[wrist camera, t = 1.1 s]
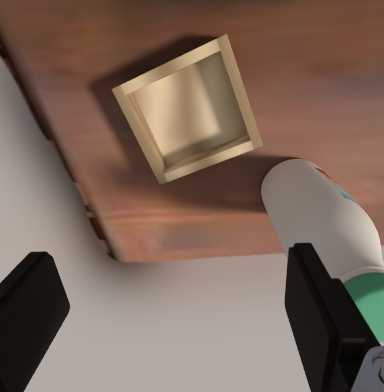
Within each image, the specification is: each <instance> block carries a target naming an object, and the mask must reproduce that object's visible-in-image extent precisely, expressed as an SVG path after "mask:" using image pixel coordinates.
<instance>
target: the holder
mask: <svg viewBox="0 0 384 392" xmlns="http://www.w3.org/2000/svg"><path fill="white" fill-rule="evenodd" d="M112 91H113V93H114V95H115V97H116V99H117V101H118V103H119V105H120V107H121V109H122V111H123V113H124V115H125V117H126V119H127V121H128V123H129V125H130V127H131V129H132V131H133V133H134V135H135V137H136V139H137V141H138V143H139V145H140V147H141V149H142V151H143V152H144V154H145V156H146V158H147V160H148V162H149V164H150V166H151V168H152V170H153V172H154V174H155V176H156V178H157V180H158V182H159V184H160V185H161V184H164V183H167V182H169V181H172V180H174V179H177V178H180V177H182V176H185V175H188V174H190V173H193V172H195V171H198V170H201V169H203V168H206V167H209V166H211V165H214V164H216V163H219V162H222V161H224V160H227V159H230V158H232V157H235V156H237V155H240V154H243V153H245V152H248V151H251V150H253V149H256V148H258V147H261V146H263V144H262V141H261V138H260V135H259V132H258V129H257V126H256V122H255V119H254V116H253V113H252V110H251V107H250V104H249V101H248V98H247V95H246V92H245V89H244V85H243V82H242V79H241V76H240V73H239V70H238V67H237V64H236V61H235V58H234V55H233V52H232V49H231V45H230V42H229V39H228V36H227V34H225V35H223V36H221V37H219V38H217V39H215V40H213V41H211V42H209V43H207V44H205V45H203V46H200V47H198V48H196V49H194V50H192V51H190V52H188V53H186V54H184V55H182V56H180V57H178V58H176V59H174V60H171V61H169V62H167V63H165V64H163V65H161V66H159V67H157V68H155V69H153V70H151V71H149V72H147V73H144V74H142V75H140V76H138V77H136V78H134V79H132V80H130V81H128V82H126V83H124V84H122V85H120V86H118V87H115V88H113V89H112Z"/></svg>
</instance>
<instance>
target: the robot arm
mask: <svg viewBox="0 0 384 392" xmlns="http://www.w3.org/2000/svg"><path fill="white" fill-rule="evenodd" d="M285 309H286V312H287V316H288V319H289V322H290V325H291V328H292V331H293V335H294V338H295V342H296V345H297V348H298V351H299V355H300V358H301V361H302V364H303V367H304V371H305V374H306V377H307V380H308V384H309V387H310V390H311V392H384V346H381V345H380V343H379V342H378V340H377V338H376V337H375V335H374V333H373V332H372V330H371V328H370V327H369V325H368V323H367V322H366V320H365V319H364V317H363V315H362V314H361V312H360V310H359V309H358V307H357V305H356V304H355V302H354V300H353V299H352V297H351V295H350V294H349V292H348V291H347V289H346V287H345V286H344V284H343V282H342V281H341V280H340V279H338V278H331V277H330V275H329V273H328V271H327V270H326V268H325V266H324V264H323V263H322V261H321V259H320V257H319V255H318V254H317V252H316V250H315V248H314V247H313V245H312V244H311V243H295V244H294V247H289V250H288V264H287V277H286V290H285ZM69 310H70V304H69V301H68V298H67V295H66V292H65V290H64V287H63V284H62V281H61V279H60V276H59V273H58V270H57V268H56V265H55V262H54V259H53V257H52V256H51V255H49V254H48V253H47V252H30V253H29V254H28V255H27V256H26V257H25V258H24V259H23V260H22V261H21V262H20V263H19V264H18V265H17V266H16V267H15V268H14V269H13V270H12V271H11V273H10V274H9V275H8V276H7V277H6V278H5V279H4V280H3V281H2V282H1V283H0V392H24V390H25V388H26V386H27V385H28V383H29V381H30V380H31V378H32V376H33V374H34V373H35V371H36V369H37V367H38V366H39V364H40V362H41V360H42V359H43V357H44V355H45V353H46V351H47V350H48V348H49V346H50V345H51V343H52V341H53V339H54V337H55V336H56V334H57V332H58V330H59V329H60V327H61V325H62V323H63V322H64V320H65V318H66V316H67V315H68V313H69Z"/></svg>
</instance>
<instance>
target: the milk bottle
mask: <svg viewBox="0 0 384 392" xmlns="http://www.w3.org/2000/svg"><path fill="white" fill-rule="evenodd" d="M261 196H262V200H263V203H264V205H265V208H266V211H267V213H268V216H269V218H270V221H271V223H272V225H273V228H274V230H275V233H276V235H277V237H278V240H279V242H280V244H281V246H282V248H283V251H284V253H285V255H286V256H287V257H288V250H289V247H294V244H295V243H311V244H312V245H313V247H314V248H315V250H316V252H317V254H318V255H319V257H320V259H321V261H322V263H323V264H324V266H325V268H326V270H327V271H328V273H329V275H330V277H331V278H338V279H340V280H341V281H342V282H343V284H344V286H345V287H346V289H347V291H348V292H349V294H350V295H351V297H352V299H353V300H354V302H355V304H356V305H357V307H358V309H359V310H360V312H361V314H362V315H363V317H364V319H365V320H366V322H367V323H368V325H369V327H370V328H371V330H372V332H373V333H374V335H375V337H376V338H377V340H378V342H384V262H383V259H382V254H381V245H380V239H379V236H378V233H377V230H376V228H375V226H374V224H373V222H372V221H371V219H370V218H369V216H368V215H367V214H366V212H365V211H364V210H363V209H362V208H361V207H360V206H359V205H358V204H357V203H356V202H355V201H354V200H353V199H352V198H351V197H350V196H349V195H348V194H347V193H346V192H345V191H344V190H343V189H342V188H341V187H340V186H339V185H338V184H337V183H335V182H334V181H333V180H332V179H331V178H330V177H329V176H328V175H327V174H326V173H325V172H324V171H322V170H321V169H320V168H319V167H318V166H317V165H315V164H314V163H312V162H310V161H307V160H304V159H291V160H286V161H283V162H281V163H279V164H277V165H276V166H274V167H273V168H272V169H271V170H270V171H269V172H268V173H267V175H266V176H265V178H264V180H263V182H262V186H261Z"/></svg>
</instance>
